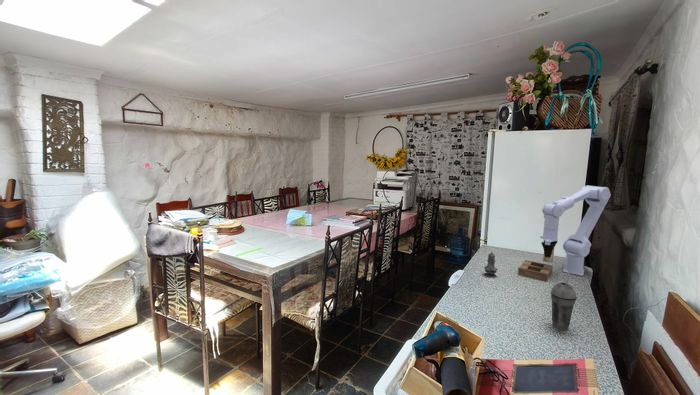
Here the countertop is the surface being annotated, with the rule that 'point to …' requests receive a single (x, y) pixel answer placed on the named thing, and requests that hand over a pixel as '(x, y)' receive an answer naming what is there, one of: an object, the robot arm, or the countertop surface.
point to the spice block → (535, 270)
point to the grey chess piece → (490, 266)
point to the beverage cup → (562, 304)
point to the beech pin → (549, 258)
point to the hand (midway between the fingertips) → (548, 256)
